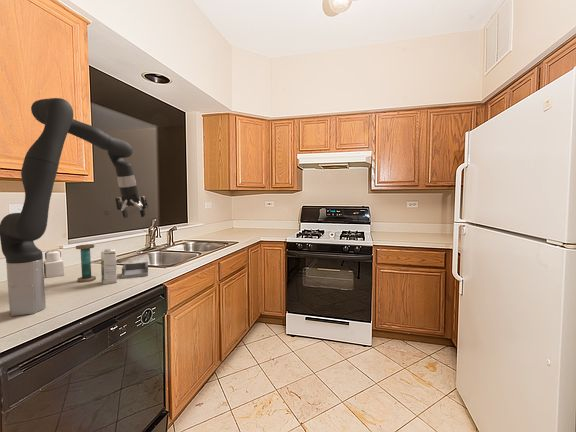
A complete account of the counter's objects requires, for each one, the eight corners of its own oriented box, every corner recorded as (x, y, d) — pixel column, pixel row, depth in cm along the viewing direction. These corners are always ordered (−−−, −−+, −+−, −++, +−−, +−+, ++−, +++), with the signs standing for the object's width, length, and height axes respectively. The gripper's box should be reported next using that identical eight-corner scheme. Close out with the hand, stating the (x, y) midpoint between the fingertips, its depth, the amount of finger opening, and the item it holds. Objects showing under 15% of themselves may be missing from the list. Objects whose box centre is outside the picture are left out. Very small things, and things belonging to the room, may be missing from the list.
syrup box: (102, 281, 134) (100, 249, 133) (117, 279, 137) (116, 248, 136) (101, 284, 129) (100, 251, 128) (117, 282, 132) (115, 250, 131)
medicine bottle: (44, 275, 144) (42, 251, 143) (62, 272, 149) (61, 249, 148) (45, 278, 139) (44, 253, 138) (64, 275, 144) (63, 251, 143)
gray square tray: (147, 276, 143) (147, 266, 142) (121, 278, 138) (121, 269, 138) (148, 270, 153) (147, 262, 152) (124, 273, 148) (123, 264, 148)
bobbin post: (94, 281, 134) (92, 246, 133) (75, 283, 131) (74, 247, 130) (97, 277, 141) (95, 243, 139) (79, 278, 138) (77, 245, 137)
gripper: (108, 187, 138) (116, 220, 143) (138, 185, 137) (145, 218, 142) (117, 184, 145) (125, 215, 150) (146, 182, 145) (152, 214, 149)
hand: (134, 217), depth 146 cm, fingers open, 8 cm apart
